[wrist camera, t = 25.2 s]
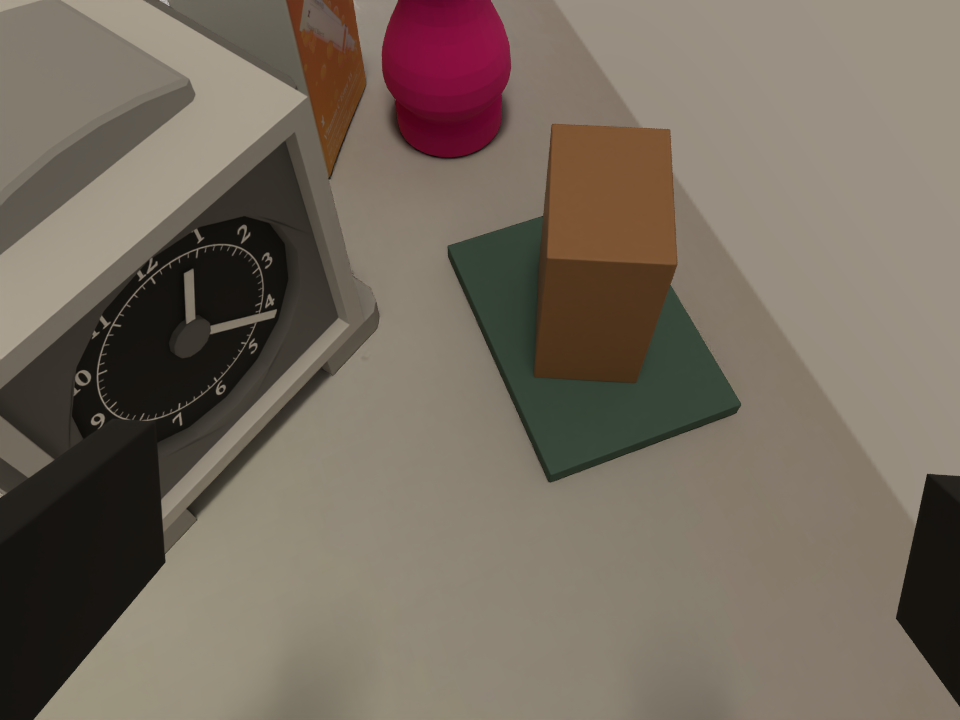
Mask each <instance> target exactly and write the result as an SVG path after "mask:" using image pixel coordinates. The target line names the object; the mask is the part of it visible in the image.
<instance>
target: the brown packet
mask: <svg viewBox="0 0 960 720" xmlns="http://www.w3.org/2000/svg"><path fill="white" fill-rule="evenodd" d="M670 137H671V136H670V130H669V129H652V128H632V127H610V126H588V125H566V124H552V127H551V138H550V149H549V160H548V170H547V181H546V192H545V203H544V213H543V224H542V235H541V246H540V256H539V274H538V296H537V319H536V342H535V364H534V377H539V378H556V379H573V380H590V381H607V382H624V383H636V382H637V379H638V376H639V374H640V371H641V368H642V365H643V362H644V359H645V356H646V353H647V351H648V348H649V345H650V342H651V339H652V336H653V333H654V330H655V327H656V325H657V322H658V319H659V316H660V313H661V310H662V307H663V304H664V302H665V299H666V296H667V293H668V290H669V287H670V284H671V281H672V279H673V276H674V273H675V270H676V267H677V248H676V229H675V210H674V192H673V173H672V154H671V138H670Z"/></svg>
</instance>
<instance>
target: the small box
mask: <svg viewBox="0 0 960 720" xmlns="http://www.w3.org/2000/svg"><path fill="white" fill-rule="evenodd" d="M168 2H169V5H170V7H171V8H173V9H175V10H177V11H178V12H180V13H182V14H183V15H185V16H187V17H189V18H190V19H192V20H194V21H195V22H197V23H199V24H201V25H202V26H204V27H206V28H207V29H209V30H211V31H213V32H214V33H216V34H218V35H220V36H221V37H223V38H225V39H226V40H228V41H230V42H232V43H233V44H235V45H237V46H238V47H240V48H242V49H244V50H245V51H247V52H249V53H250V54H252V55H254V56H256V57H257V58H259V59H261V60H263V61H264V62H266V63H268V64H269V65H271V66H273V67H275V68H276V69H278V70H280V71H281V72H283V73H285V74H287V75H288V76H290V77H291V78H292V79H293V81H294V82H295V84H296V85H297V88H298V91H299V92H301V93H302V94H304V95H306V96H307V97H308V100H309V104H310V108H311V112H312V116H313V120H314V124H315V128H316V132H317V136H318V140H319V144H320V148H321V152H322V156H323V160H324V164H325V168H326V172H327V176H328V177H330V175H331V172H332V169H333V166H334V163H335V160H336V157H337V155H338V152H339V149H340V146H341V144H342V141H343V139H344V136H345V134H346V131H347V128H348V126H349V124H350V121H351V119H352V116H353V114H354V112H355V109H356V107H357V104H358V102H359V99H360V97H361V95H362V92H363V90H364V88H365V86H366V79H365V73H364V67H363V60H362V54H361V48H360V41H359V36H358V29H357V23H356V16H355V10H354V4H353V0H168Z"/></svg>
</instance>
